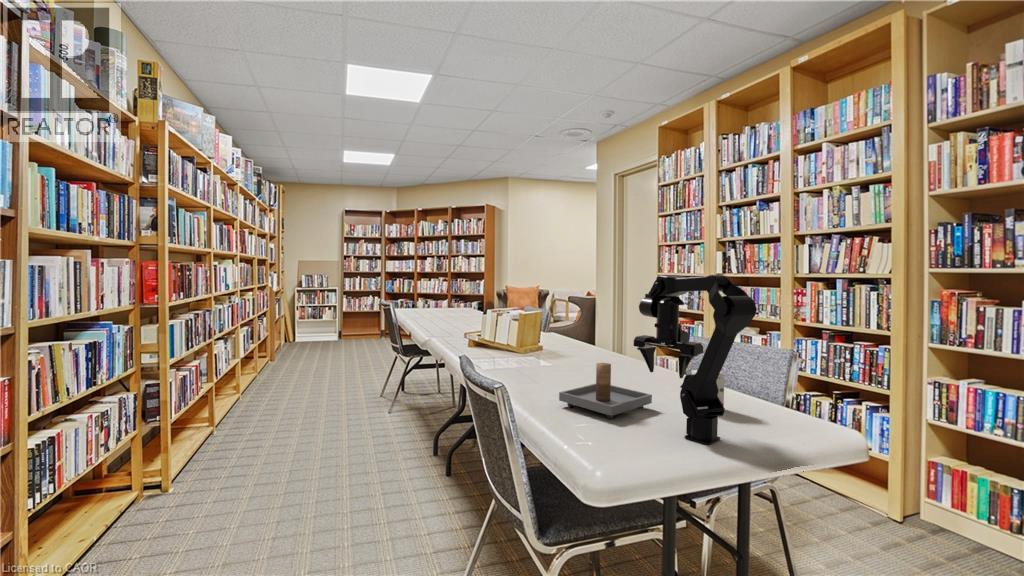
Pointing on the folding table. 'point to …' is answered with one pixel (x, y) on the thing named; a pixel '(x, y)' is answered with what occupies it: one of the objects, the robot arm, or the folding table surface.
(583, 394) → the parts tray
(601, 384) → the walnut part
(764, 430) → the folding table surface
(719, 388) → the ink box
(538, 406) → the folding table surface
